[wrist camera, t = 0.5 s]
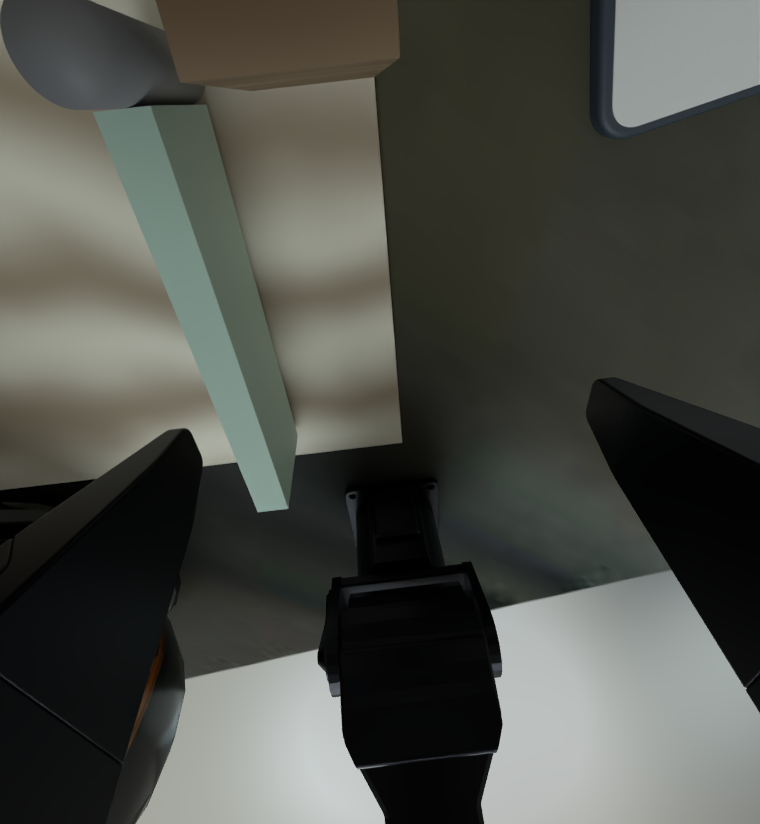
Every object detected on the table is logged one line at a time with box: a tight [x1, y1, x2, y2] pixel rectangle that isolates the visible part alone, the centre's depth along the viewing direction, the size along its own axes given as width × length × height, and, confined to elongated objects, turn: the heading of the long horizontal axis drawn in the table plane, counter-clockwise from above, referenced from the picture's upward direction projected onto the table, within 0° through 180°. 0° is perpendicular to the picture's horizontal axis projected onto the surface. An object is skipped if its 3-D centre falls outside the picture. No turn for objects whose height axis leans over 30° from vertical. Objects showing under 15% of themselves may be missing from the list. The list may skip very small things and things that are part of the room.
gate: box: [0, 0, 298, 512], centre depth 16 cm, size 18×2×8 cm, turn 5°
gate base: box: [0, 0, 402, 490], centre depth 16 cm, size 23×26×9 cm
